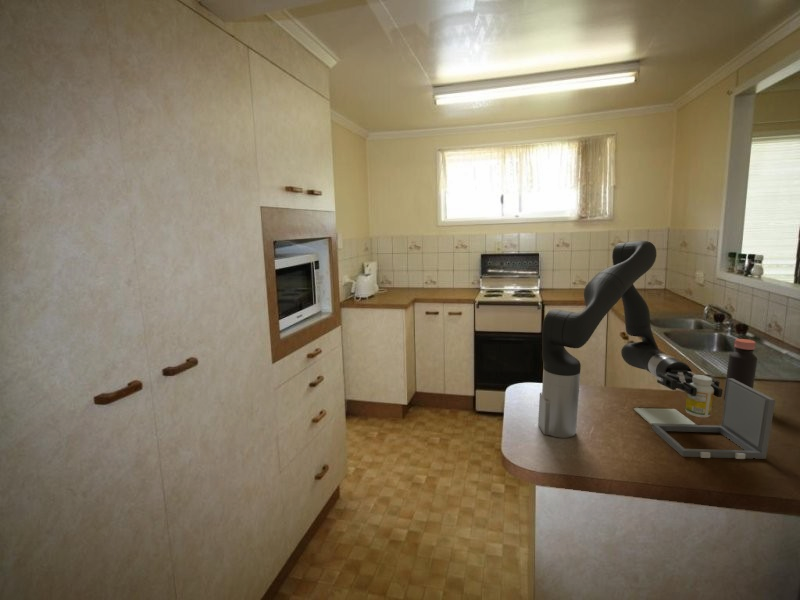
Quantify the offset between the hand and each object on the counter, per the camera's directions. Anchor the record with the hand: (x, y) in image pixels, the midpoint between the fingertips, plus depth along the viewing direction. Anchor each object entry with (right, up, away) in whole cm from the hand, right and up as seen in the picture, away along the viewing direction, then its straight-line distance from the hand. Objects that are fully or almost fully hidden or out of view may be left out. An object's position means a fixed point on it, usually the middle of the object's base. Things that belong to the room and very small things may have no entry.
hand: (707, 392), depth 103 cm
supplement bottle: (0, -6, +4) cm, 7 cm away
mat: (+1, -11, +19) cm, 23 cm away
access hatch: (+2, -14, +5) cm, 15 cm away
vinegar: (+31, -10, +30) cm, 44 cm away
